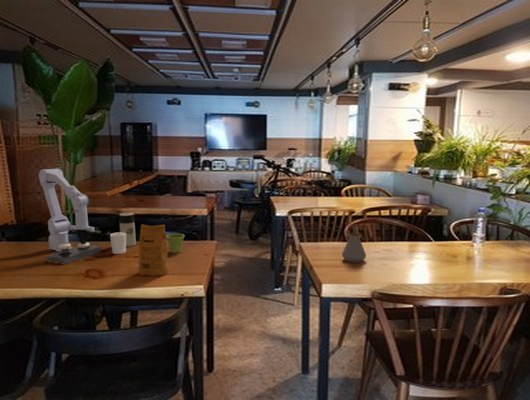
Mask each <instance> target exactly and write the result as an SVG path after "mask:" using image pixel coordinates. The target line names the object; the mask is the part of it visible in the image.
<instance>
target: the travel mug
mask: <svg viewBox="0 0 530 400" xmlns="http://www.w3.org/2000/svg"><path fill="white" fill-rule="evenodd" d="M134 215H135V214H134V212H122V213H119V216H120V218H119V222H118V223H119V232H124V233H126V248H127V247H134V246H135V245H136V244H137V240H136V225H135V218H134Z"/></svg>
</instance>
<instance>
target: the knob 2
mask: <svg viewBox="0 0 530 400" xmlns="http://www.w3.org/2000/svg"><path fill="white" fill-rule="evenodd" d="M90 245H91V244H90V242H87V241H86V244H81V242H79V243H77V246H78V248H80V249H83V250H84V249H87V248H88V247H89V246H90Z"/></svg>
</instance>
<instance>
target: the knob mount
mask: <svg viewBox="0 0 530 400" xmlns="http://www.w3.org/2000/svg"><path fill="white" fill-rule="evenodd" d="M89 245H90V246H89V247H88V248H87V249H84V250H83V249H80V248H78V245H77V246H73V248H70V249H69V255H61V252H60V251H56V252H55V253H51V254H49V255H46V256H45V259H46V262H47V261H52V262H58V263H64V264H63V265H67V264H66V263H68V264H70V263H69V262H71V263H73V262H72V261H74V262H76V261H79V260H82V259H85V258H87V257H90V256H93V255H95V254H99V253H101V252H102V245H94V244H89ZM75 260H76V261H75ZM58 263H57V264H58Z"/></svg>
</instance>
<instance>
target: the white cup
mask: <svg viewBox="0 0 530 400" xmlns="http://www.w3.org/2000/svg"><path fill="white" fill-rule="evenodd" d="M109 238H110V245H111V251H112V254H114V255H121V254H122V255H123V254H125V253H126V252H127V247H126V233H124V232H120V231H118V232H113V233H110V235H109Z"/></svg>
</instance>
